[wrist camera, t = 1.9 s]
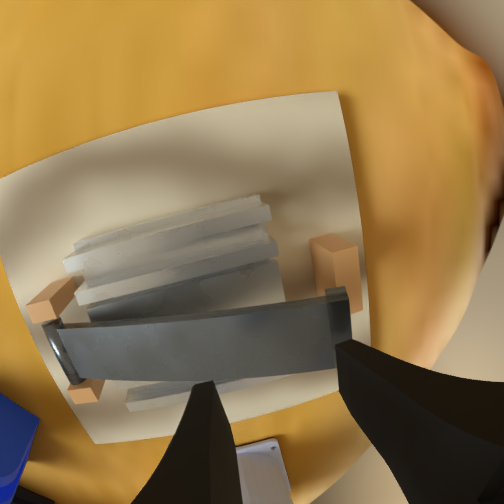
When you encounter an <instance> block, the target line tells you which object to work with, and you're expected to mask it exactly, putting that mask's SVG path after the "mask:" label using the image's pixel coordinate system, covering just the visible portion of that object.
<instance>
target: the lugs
mask: <svg viewBox="0 0 504 504" xmlns="http://www.w3.org/2000/svg"><path fill="white" fill-rule="evenodd" d="M309 244H310V250H311V256H312V262H313V269H314V275H315V282H316V288H317V295H318V297H320V296H325V289H328V288H334V287H340V286H345V288H346V291H347V294H348V297H349V303H350V314H353V313H356V312H359V311H362V310H363V300H362V287H361V276H360V266H359V256H358V247H357V245H354V244H352V243H350V242H348V241H346V240H344V239H342V238H340V237H338V236H335V235H333V234H331V233H330V234H326V235H322V236H318V237H315V238H311V239H309ZM76 290H77V287H76V284H75V281H74V278H73V277H69V278H65V279H62V280H58V281H55V282H51V283H50V284H49V285H48V286H47V287H46V288H44V289H43V290H42V291H41V292H40V293H39V294H38V295H37V296H35V297H34V298H33V299H32V300H31V301H30V302H29V303H28V304H27V305H26V309H27V311H28V314H29V316H30V318H31V321H32V323H33V324H34V323H39V322H43V321H48V320H52V319H56V318H57V317H58V316H59V315H60V314H61V313H62V311H63V310H64V309H65V308H66V307H67V305H68V304H69V303H70V302H71V301H72V300H73V298H74V297H75V294H74V292H75V291H76ZM104 383H105V380H102V379H86V380H85V381H84V382H82V383H80V384H78V385H72V384H70V385H69V387H68V389H67V392H68V393H69V395H70V397H71V398H72V400H73V402H74V403H75V404H82V403H90V402H98V401H99V398H100V395H101V392H102V389H103V386H104Z"/></svg>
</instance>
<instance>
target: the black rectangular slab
mask: <svg viewBox="0 0 504 504" xmlns="http://www.w3.org/2000/svg"><path fill="white" fill-rule="evenodd" d="M10 504H55V502H54V501H52V500H49V499H47V498H44V497H42V496H40V495H37V494H35V493H33V492H30V491H28V490H26V489H24V488H22V487H20V486H17V489H16V492H15V494H14V497H13V500H12V502H11V503H10Z"/></svg>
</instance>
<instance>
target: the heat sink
mask: <svg viewBox="0 0 504 504" xmlns="http://www.w3.org/2000/svg"><path fill="white" fill-rule="evenodd" d="M270 220H272V216H271V211H270V206H269V205H268V204H266V203H264V202H261V199H260V195H259V194H256V193H254V194H249V195H245V196H241V197H236V198H232V199H228V200H224V201H219V202H215V203H211V204H207V205H203V206H199V207H195V208H191V209H187V210H183V211H179V212H176V213H172V214H168V215H164V216H160V217H157V218H153V219H149V220H146V221H142V222H138V223H135V224H131V225H128V226H124V227H121V228H117V229H114V230H110V231H107V232H104V233H100V234H97V235H93V236H90V237H87V238H84V239H80V240H79V241H77V242H76V243H74V244H73V246H74V250H75V251H74V252H72V253H71V254H69V255H68V256H67V257H65V258H64V259H63V263H64V266H65V269H66V272H67V273H71V272H74V271H78V270H81V271H82V274H83V277H84V280H85V281H84V282H83V283H82V285H81V286H80V287H79V288H78V289H77V290H76V291H75V292H74V294H75V297H76V299H77V302H78V305H79V306H81V305H85V304H89V303H90V304H89V306H88V307H87V308H86V311H87V314H88V316H89V319H90V321H91V322H99V321H113V320H126V319H139V318H150V317H161V316H171V315H181V314H191V313H200V312H209V311H218V310H226V309H234V308H243V307H250V306H258V305H265V304H273V303H280V302H286V301H285V296H284V291H283V285H282V280H281V275H280V270H279V265H278V261H277V260H276V259H275V258H274V257H275V256H279V251H278V246H277V241H276V240H275V239H273V238H272V237H271V236H270V235H268V233H267V228H266V223H265V222H266V221H270ZM290 375H293V374H289V375H279V376H269V377H257V378H244V379H229V380H213V381H214V383H215V386H216V389H217V392H218V394H219V395H221V394H225V393H229V392H233V391H237V390H241V389H245V388H249V387H252V386H256V385H260V384H263V383H267V382H270V381H274V380H277V379H280V378H284V377H287V376H290ZM208 381H212V380H208ZM208 381H122V380H113V382H114V384H115V386H116V388H117V390H121V389H127V388H128V392H127V397H126V401H125V404H126V406H127V408H128V410H129V411H130V412H134V411H140V410H147V409H153V408H158V407H164V406H169V405H175V404H180V403H185V402H188V399H189V396H190V393H191V389H192V387H193V386H194V385H195V384H199V383H204V382H208Z"/></svg>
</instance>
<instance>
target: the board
mask: <svg viewBox="0 0 504 504" xmlns="http://www.w3.org/2000/svg"><path fill="white" fill-rule="evenodd" d="M254 193H256V194H259V195H260V199H261V202H264V203H266V204H268V205H269V206H270V211H271V216H272V220H270V221H266V222H265V223H266V228H267V233H268V235H270V236H271V237H272V238H273V239H275V240H276V241H277V246H278V251H279V256H275V257H274V258H275V259H276V260H277V261H278V265H279V270H280V275H281V280H282V285H283V291H284V296H285V301H286V302H287V301H294V300H301V299H307V298H314V297H318V295H317V288H316V282H315V275H314V269H313V262H312V256H311V250H310V244H309V239H311V238H315V237H318V236H322V235H326V234H330V233H331V234H333V235H335V236H338V237H340V238H342V239H344V240H346V241H348V242H350V243H352V244H354V245H357V247H358V256H359V266H360V276H361V287H362V300H363V310H362V311H359V312H356V313H353V314H351V326H352V339H354V340H357V341H359V342H361V343H363V344H366V345H368V346H370V347H371V337H370V315H369V299H368V285H367V273H366V262H365V252H364V243H363V234H362V226H361V218H360V211H359V203H358V197H357V190H356V184H355V177H354V171H353V166H352V160H351V154H350V149H349V144H348V139H347V134H346V129H345V124H344V119H343V115H342V110H341V106H340V101H339V97H338V93H337V91H327V92H316V93H306V94H297V95H288V96H280V97H273V98H266V99H259V100H253V101H247V102H241V103H236V104H230V105H225V106H220V107H215V108H210V109H205V110H200V111H196V112H191V113H187V114H183V115H179V116H175V117H170V118H167V119H163V120H159V121H155V122H151V123H148V124H144V125H141V126H137V127H134V128H130V129H127V130H124V131H121V132H117V133H114V134H111V135H108V136H105V137H102V138H99V139H96V140H93V141H90V142H87V143H85V144H82V145H79V146H76V147H74V148H71V149H68V150H66V151H63V152H60V153H58V154H55V155H53V156H50V157H48V158H46V159H43V160H41V161H38V162H36V163H34V164H31V165H29V166H27V167H25V168H22V169H20V170H18V171H16V172H14V173H11V174H9V175H7V176H5V177H3V178H1V179H0V256H1V259H2V262H3V265H4V268H5V271H6V274H7V277H8V280H9V282H10V285H11V288H12V291H13V293H14V296H15V298H16V301H17V303H18V306H19V308H20V311H21V313H22V315H23V318H24V320H25V322H26V325H27V327H28V329H29V331H30V334H31V336H32V338H33V340H34V342H35V344H36V346H37V348H38V350H39V352H40V354H41V356H42V358H43V360H44V362H45V364H46V366H47V368H48V370H49V371H50V373H51V375H52V377H53V379H54V381H55V382H56V384H57V386H58V388H59V389H60V391H61V393H62V394H63V396H64V398H65V399H66V401H67V403H68V404H69V406H70V407H71V409H72V411H73V412H74V414H75V415H76V417H77V418H78V420H79V421H80V423H81V424H82V426H83V427H84V429H85V430H86V432H87V433H88V435H89V436H90V437H91V439H92V440H93V442H94V443H95V444H104V443H115V442H125V441H134V440H142V439H149V438H156V437H163V436H169V435H174V434H175V432H176V429H177V427H178V425H179V422H180V420H181V418H182V415H183V413H184V410H185V407H186V405H187V402H185V403H180V404H175V405H169V406H164V407H158V408H153V409H147V410H140V411H134V412H130V411H129V410H128V408H127V406H126V404H125V401H126V397H127V392H128V388H127V389H121V390H117V388H116V386H115V384H114V382H113V380H105V383H104V386H103V389H102V392H101V395H100V398H99V401H98V402H90V403H82V404H75V403H74V402H73V400H72V398H71V397H70V395H69V393H68V392H67V389H68V387H69V385H70V382H69V380H68V379H67V377H66V375H65V373H64V371H63V369H62V367H61V365H60V364H59V362H58V360H57V358H56V356H55V354H54V352H53V350H52V348H51V346H50V343H49V341H48V339H47V337H46V335H45V333H44V330H43V328H42V326H41V325H42V323H43V322H45V321H43V322H39V323H34V324H33V323H32V321H31V318H30V316H29V314H28V311H27V309H26V305H27V304H28V303H29V302H30V301H31V300H32V299H33V298H34V297H35V296H37V295H38V294H39V293H40V292H41V291H42V290H43V289H44V288H46V287H47V286H48V285H49V284H50V283H51V282H55V281H58V280H62V279H65V278H69V277H73V278H74V281H75V284H76V287H77V289H78V288H79V287H80V286H81V285H82V283H83V282H84V281H85V280H84V277H83V274H82V271H81V270H78V271H74V272H71V273H67V272H66V269H65V266H64V263H63V259H64V258H65V257H67V256H68V255H69V254H71V253H72V252H74V251H75V250H74V246H73V244H74V243H76V242H77V241H79V240H80V239H84V238H87V237H90V236H93V235H97V234H100V233H104V232H107V231H110V230H114V229H117V228H121V227H124V226H128V225H131V224H135V223H138V222H142V221H146V220H149V219H153V218H157V217H160V216H164V215H168V214H172V213H176V212H179V211H183V210H187V209H191V208H195V207H199V206H203V205H207V204H211V203H215V202H219V201H224V200H228V199H232V198H236V197H241V196H245V195H249V194H254ZM89 304H90V303H89ZM89 304H85V305H81V306H79V305H78V302H77V299H76V297H74V298H73V300H72V301H71V302H70V303H69V304H68V305H67V307H66V308H65V309H64V310H63V311H62V313H61V314H60V315H59V316H60V317H61V319H62V321H63V324H66V323H84V322H91V321H90V319H89V316H88V314H87V311H86V308H87V307H88V306H89ZM338 390H339V386H338V374H337V368H335V369H328V370H321V371H313V372H306V373H297V374H293V375H290V376H287V377H284V378H280V379H277V380H274V381H270V382H267V383H263V384H260V385H256V386H252V387H249V388H245V389H241V390H237V391H233V392H229V393H225V394H221V395H219V397H220V400H221V402H222V405H223V408H224V410H225V413H226V415H227V418H228V421H229V423H233V422H237V421H241V420H245V419H249V418H253V417H257V416H261V415H264V414H268V413H271V412H275V411H278V410H281V409H285V408H288V407H291V406H294V405H298V404H301V403H304V402H307V401H310V400H313V399H316V398H319V397H321V396H324V395H327V394H330V393H333V392H335V391H338Z"/></svg>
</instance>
